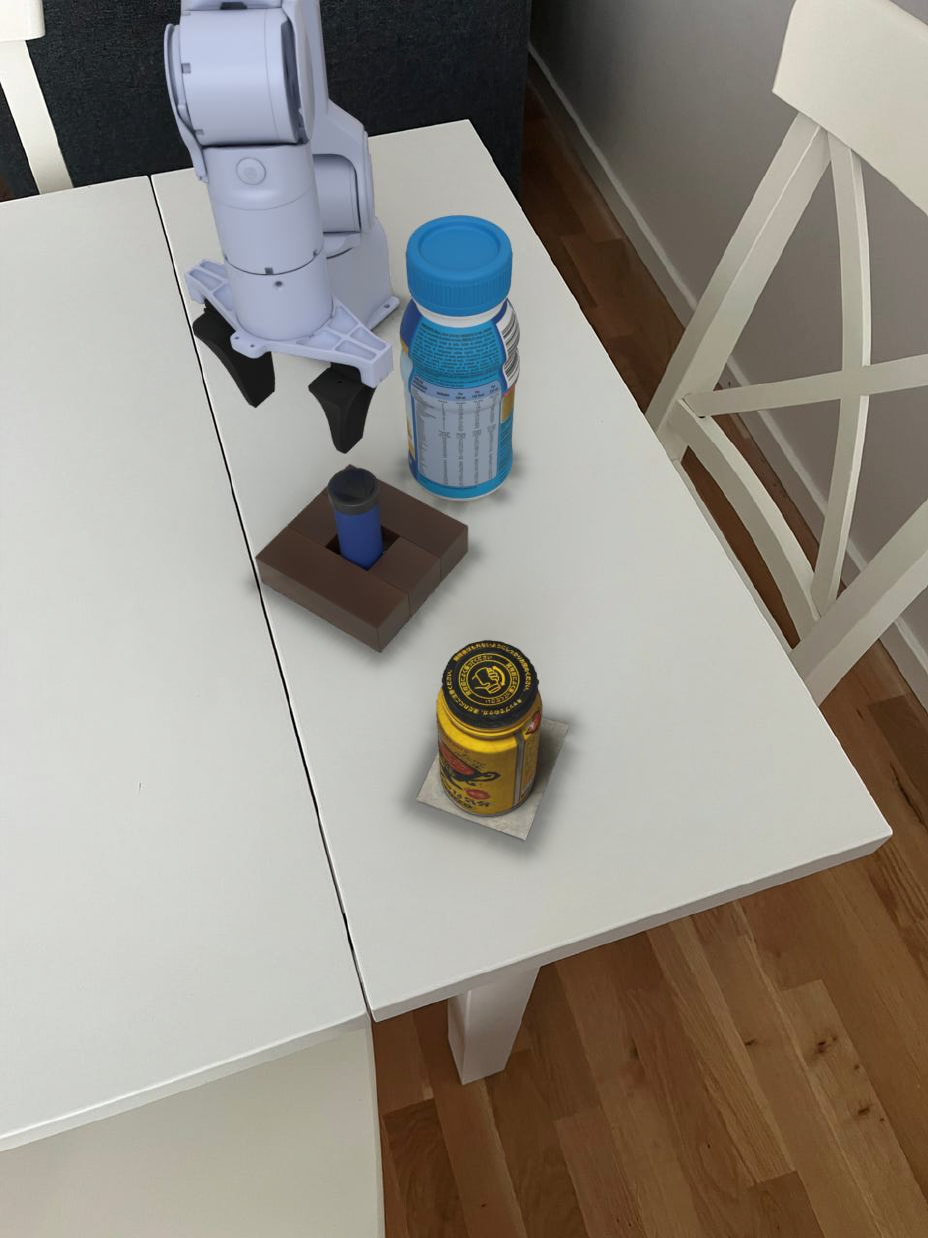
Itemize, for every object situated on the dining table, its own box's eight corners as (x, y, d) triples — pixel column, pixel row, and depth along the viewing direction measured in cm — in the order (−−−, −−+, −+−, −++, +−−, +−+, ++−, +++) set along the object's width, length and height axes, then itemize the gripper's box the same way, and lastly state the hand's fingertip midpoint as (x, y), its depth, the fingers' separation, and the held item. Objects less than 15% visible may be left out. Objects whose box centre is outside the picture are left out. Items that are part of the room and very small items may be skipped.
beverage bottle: (443, 522, 75) (436, 304, 58) (387, 454, 79) (366, 231, 62) (534, 478, 77) (553, 256, 61) (476, 414, 81) (479, 189, 65)
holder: (353, 489, 77) (349, 463, 74) (468, 551, 73) (468, 525, 71) (261, 582, 72) (254, 556, 69) (380, 653, 68) (377, 629, 66)
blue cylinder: (360, 543, 74) (348, 459, 66) (397, 564, 72) (389, 481, 65) (331, 573, 72) (316, 491, 65) (368, 595, 71) (357, 513, 63)
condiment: (415, 801, 62) (406, 707, 52) (465, 692, 66) (465, 587, 56) (525, 842, 60) (537, 753, 50) (568, 727, 65) (587, 626, 55)
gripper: (127, 235, 56) (184, 412, 67) (330, 330, 51) (354, 503, 62) (212, 175, 59) (253, 353, 70) (409, 260, 54) (419, 436, 66)
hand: (305, 420), depth 66 cm, fingers open, 7 cm apart
